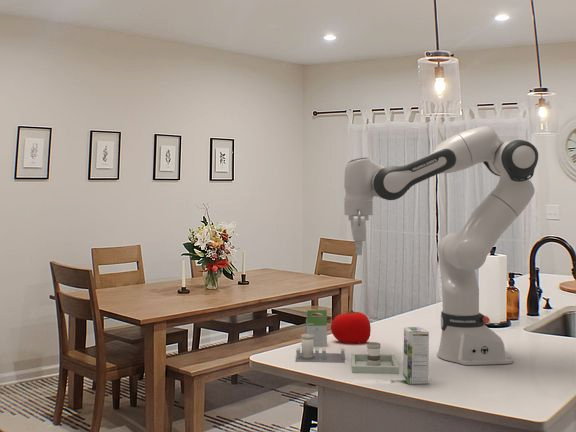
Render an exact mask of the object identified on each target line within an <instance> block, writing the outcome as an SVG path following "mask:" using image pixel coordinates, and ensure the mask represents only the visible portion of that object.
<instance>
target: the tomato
mask: <svg viewBox="0 0 576 432" xmlns="http://www.w3.org/2000/svg"><path fill="white" fill-rule="evenodd" d="M343 312H344V313H341V314H338V315H336V316H335V317H334V319H333V320H332V322H331V324H330V330H331V333H332V335H333V337H334V338H335V339H336V341H339V342H340V343H342V344H350V345H352V344H353V345H355V344H356V345H357V344H365V343H366V344H367V343H368V341H369V339H370V336H371V322H370V319H369V318H368V316H367V315H366V314H364V313H363V312H360V311H354V310H353V309H352V310H350V311H348V310H347V311H346V310H345V311H343Z"/></svg>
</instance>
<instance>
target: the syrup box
mask: <svg viewBox="0 0 576 432" xmlns="http://www.w3.org/2000/svg"><path fill="white" fill-rule="evenodd" d="M429 339H430V332H429V331H427V329H426V328H424V327H421V326H407V327H404V328H403V360H402V361H403V362H402V364H403V368H402V369H403V371H402V374H403V377H404V379H405V382H406V383H407V384H408V385H424V384H425V385H427V384H429V358H430V357H429V355H430V354H429V352H430V351H429V350H430V349H429V347H430V344H429V343H430V341H429Z"/></svg>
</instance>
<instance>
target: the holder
mask: <svg viewBox="0 0 576 432" xmlns="http://www.w3.org/2000/svg"><path fill="white" fill-rule="evenodd" d="M300 339H301V347H296V351H295V352H296V356H295V360H294V362H295V363H331V364H332V363H335V364H336V363H340V364H345V363H346V358H345V357H346V356H345V355H346V354H345V348H341V349H340V353H333V352H332V353H331V352H330V353H329V352H327V349H326V348H323V347H322V349H321V350H322V351H321V352H320V349H319V347H317V348H316V347H315V349H314V347H313V339H314V335H313V334H309V333H306V332H305V333H301V335H300Z"/></svg>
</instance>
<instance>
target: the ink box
mask: <svg viewBox="0 0 576 432" xmlns="http://www.w3.org/2000/svg"><path fill="white" fill-rule="evenodd" d="M314 314H321V315H314ZM313 315H314V316H313ZM327 317H328V311H327V309H316V310H314V309H313V310H312V309H311V310H306V318H305V334H306V333H309V334H313V335H314V339H313V348H314V347H315V348H316V347H317V348H319V347H322V348H323V347H328V320H327V319H328V318H327Z"/></svg>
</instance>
